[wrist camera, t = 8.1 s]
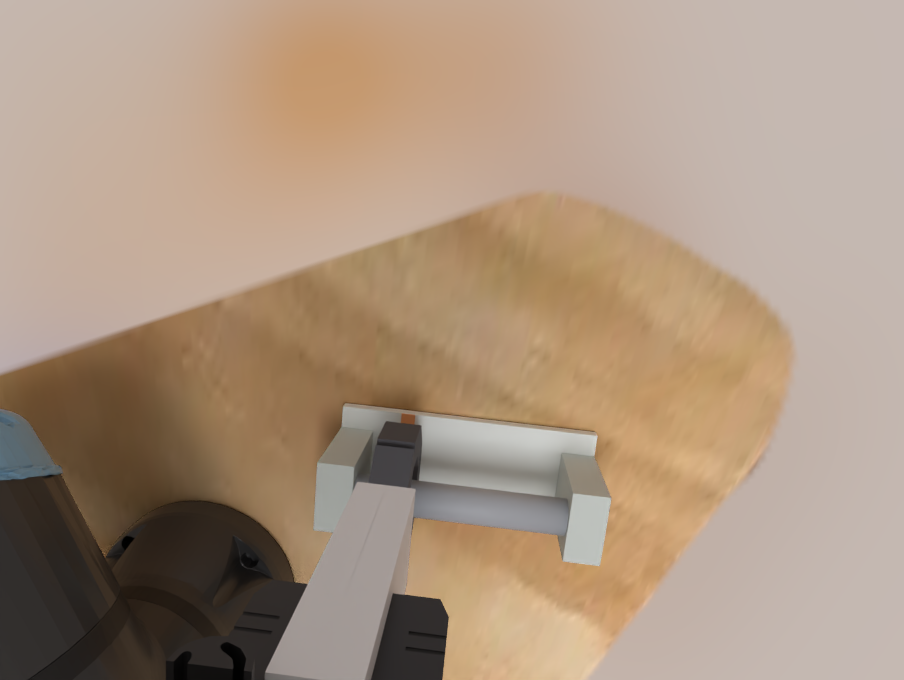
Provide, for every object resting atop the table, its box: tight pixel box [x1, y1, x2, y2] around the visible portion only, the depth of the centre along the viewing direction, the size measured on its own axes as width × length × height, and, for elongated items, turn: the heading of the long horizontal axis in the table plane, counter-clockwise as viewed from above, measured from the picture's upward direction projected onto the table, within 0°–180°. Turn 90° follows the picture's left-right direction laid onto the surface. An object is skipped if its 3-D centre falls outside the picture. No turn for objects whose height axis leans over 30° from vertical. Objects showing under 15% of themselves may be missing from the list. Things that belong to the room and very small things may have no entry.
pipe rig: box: [314, 403, 611, 566], centre depth 43 cm, size 19×8×7 cm, turn 84°
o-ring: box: [368, 421, 422, 535], centre depth 41 cm, size 2×9×9 cm, turn 174°
